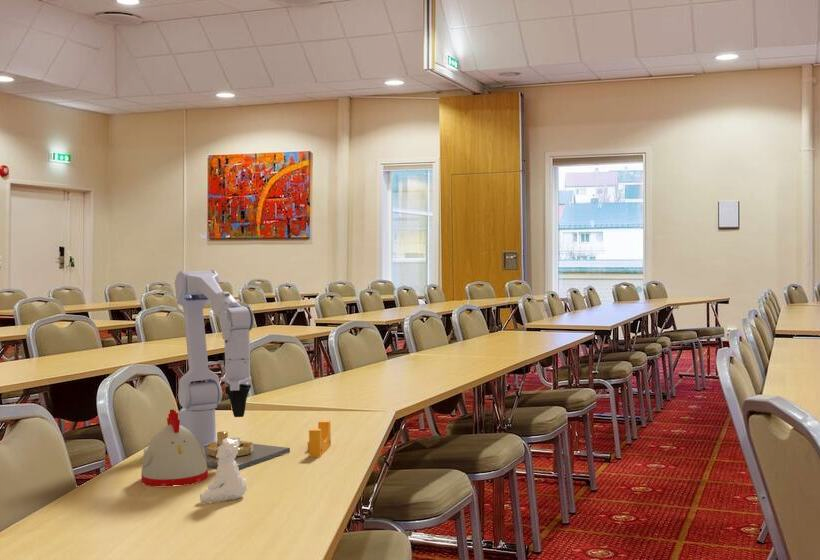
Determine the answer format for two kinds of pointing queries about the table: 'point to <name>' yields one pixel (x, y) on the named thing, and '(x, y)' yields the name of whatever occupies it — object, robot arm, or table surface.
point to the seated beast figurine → (225, 475)
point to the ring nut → (213, 446)
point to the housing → (250, 455)
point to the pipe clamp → (319, 439)
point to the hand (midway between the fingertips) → (239, 416)
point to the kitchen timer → (174, 457)
